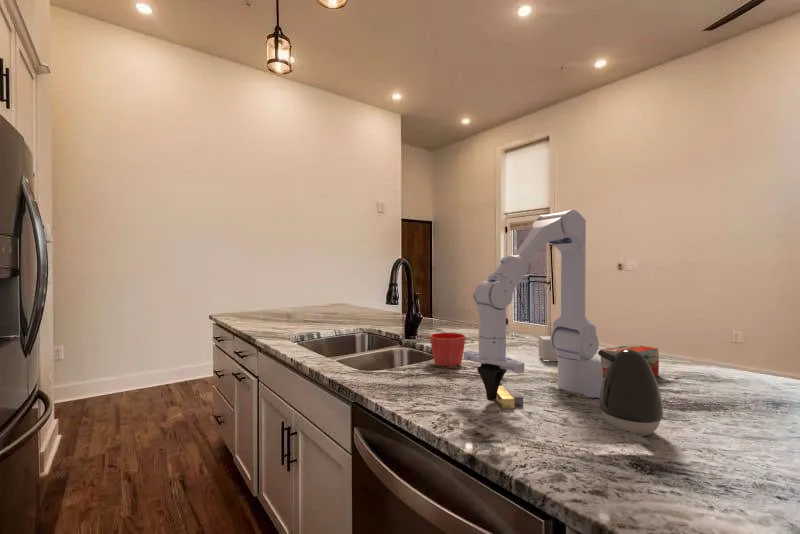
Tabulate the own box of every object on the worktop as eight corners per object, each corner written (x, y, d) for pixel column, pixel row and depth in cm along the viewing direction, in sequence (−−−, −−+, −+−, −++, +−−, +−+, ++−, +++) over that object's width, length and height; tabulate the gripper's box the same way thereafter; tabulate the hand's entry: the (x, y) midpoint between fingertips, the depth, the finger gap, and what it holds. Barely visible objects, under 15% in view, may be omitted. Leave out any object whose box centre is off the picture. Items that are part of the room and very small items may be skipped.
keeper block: (517, 400, 83) (517, 390, 83) (523, 406, 79) (523, 397, 79) (508, 400, 83) (508, 390, 83) (513, 406, 79) (513, 397, 79)
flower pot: (424, 364, 119) (424, 333, 119) (456, 361, 123) (456, 331, 123) (438, 372, 109) (438, 339, 109) (471, 369, 112) (471, 337, 112)
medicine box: (630, 369, 113) (630, 342, 113) (659, 376, 106) (659, 347, 106) (599, 376, 106) (599, 348, 106) (628, 384, 99) (628, 353, 99)
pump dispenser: (604, 415, 78) (603, 341, 78) (665, 428, 71) (665, 348, 71) (592, 431, 70) (592, 350, 70) (659, 448, 63) (659, 358, 64)
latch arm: (487, 390, 89) (487, 381, 89) (500, 390, 90) (500, 381, 90) (501, 408, 78) (501, 398, 78) (515, 408, 78) (515, 397, 78)
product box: (557, 357, 127) (557, 336, 127) (562, 362, 121) (562, 339, 121) (538, 357, 128) (538, 335, 128) (542, 361, 122) (542, 339, 122)
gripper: (454, 333, 84) (454, 394, 84) (510, 344, 73) (509, 414, 73) (475, 330, 89) (474, 388, 89) (530, 339, 78) (530, 405, 78)
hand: (492, 399), depth 81 cm, fingers closed, pressing on latch arm
